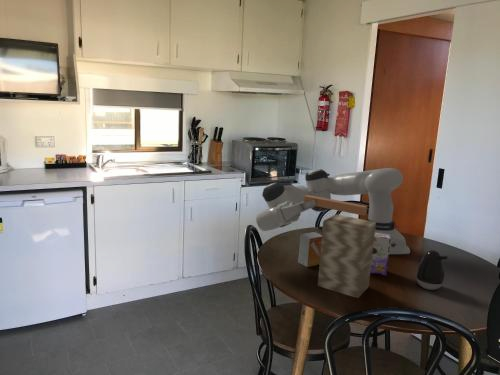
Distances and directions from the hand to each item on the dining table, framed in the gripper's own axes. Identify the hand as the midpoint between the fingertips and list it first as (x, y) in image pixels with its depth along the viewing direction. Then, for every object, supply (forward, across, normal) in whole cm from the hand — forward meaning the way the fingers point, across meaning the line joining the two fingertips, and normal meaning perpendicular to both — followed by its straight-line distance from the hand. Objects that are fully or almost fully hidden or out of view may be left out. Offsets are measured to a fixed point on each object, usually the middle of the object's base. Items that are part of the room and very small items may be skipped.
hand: (318, 200), depth 163 cm
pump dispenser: (+19, -21, -48) cm, 56 cm away
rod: (+5, 0, -5) cm, 7 cm away
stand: (-4, 0, -34) cm, 34 cm away
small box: (-22, -13, -24) cm, 35 cm away
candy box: (-2, -22, -36) cm, 42 cm away
